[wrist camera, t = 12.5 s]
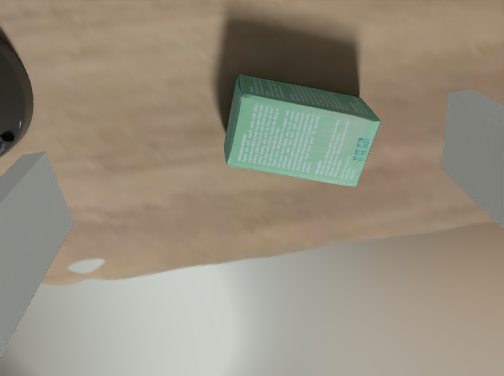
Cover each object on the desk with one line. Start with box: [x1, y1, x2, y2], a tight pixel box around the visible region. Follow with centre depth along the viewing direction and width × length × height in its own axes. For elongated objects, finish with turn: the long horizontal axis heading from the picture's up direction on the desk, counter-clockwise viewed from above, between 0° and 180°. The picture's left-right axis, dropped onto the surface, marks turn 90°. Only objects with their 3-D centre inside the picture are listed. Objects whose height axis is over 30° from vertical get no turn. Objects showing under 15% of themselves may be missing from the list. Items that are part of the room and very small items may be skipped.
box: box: [224, 74, 381, 187], centre depth 43 cm, size 7×14×8 cm, turn 78°
